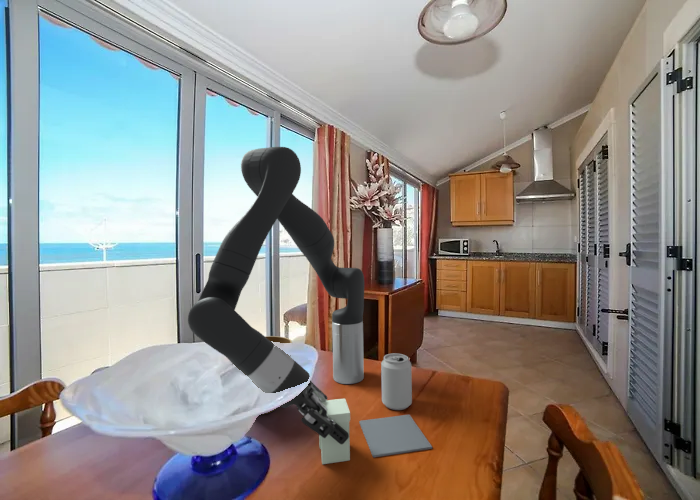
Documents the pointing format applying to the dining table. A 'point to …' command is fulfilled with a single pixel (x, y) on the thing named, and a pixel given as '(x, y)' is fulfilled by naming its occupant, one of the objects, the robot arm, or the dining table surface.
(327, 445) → the pale green upright block
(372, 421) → the mat
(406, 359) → the can
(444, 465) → the dining table surface
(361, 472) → the dining table surface
